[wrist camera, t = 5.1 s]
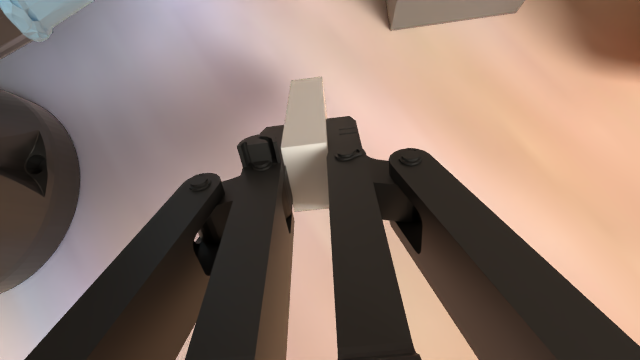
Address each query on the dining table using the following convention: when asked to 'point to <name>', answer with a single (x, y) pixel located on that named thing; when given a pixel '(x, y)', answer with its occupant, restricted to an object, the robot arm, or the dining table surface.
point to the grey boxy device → (444, 11)
